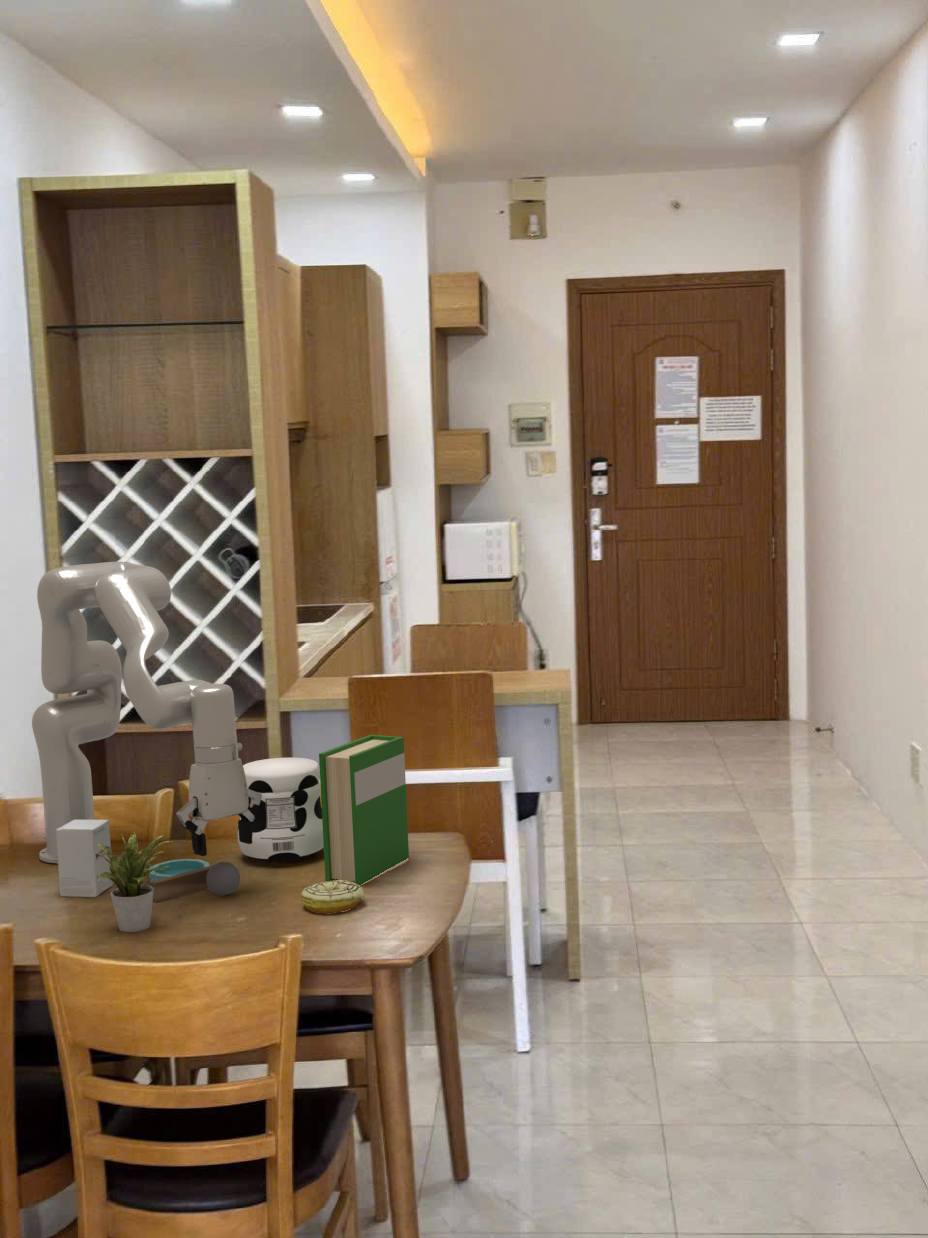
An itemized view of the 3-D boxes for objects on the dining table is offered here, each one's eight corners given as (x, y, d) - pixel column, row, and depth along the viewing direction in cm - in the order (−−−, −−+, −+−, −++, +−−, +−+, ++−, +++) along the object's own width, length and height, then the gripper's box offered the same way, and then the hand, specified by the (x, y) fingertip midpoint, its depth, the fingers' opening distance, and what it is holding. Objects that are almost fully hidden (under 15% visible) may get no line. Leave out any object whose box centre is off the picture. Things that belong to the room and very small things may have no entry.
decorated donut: (376, 904, 252) (375, 883, 251) (330, 921, 244) (329, 899, 243) (336, 893, 259) (335, 873, 258) (290, 909, 251) (289, 888, 250)
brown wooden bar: (151, 901, 258) (150, 882, 257) (222, 881, 268) (221, 863, 267) (156, 903, 257) (155, 883, 256) (227, 883, 267) (226, 864, 266)
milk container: (290, 839, 295) (285, 752, 293) (346, 853, 283) (341, 763, 281) (220, 858, 283) (215, 768, 281) (276, 874, 271) (271, 780, 269)
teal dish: (138, 881, 270) (137, 869, 270) (189, 867, 278) (188, 855, 277) (170, 892, 262) (169, 880, 262) (221, 878, 270) (220, 866, 270)
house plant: (195, 930, 241) (189, 834, 239) (115, 948, 234) (108, 849, 232) (164, 909, 253) (158, 817, 251) (86, 925, 245) (79, 831, 244)
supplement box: (97, 898, 261) (92, 829, 259) (59, 897, 262) (54, 829, 261) (114, 885, 268) (110, 818, 267) (77, 884, 270) (73, 818, 268)
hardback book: (360, 887, 261) (353, 756, 258) (325, 882, 265) (318, 753, 262) (409, 860, 277) (403, 737, 274) (376, 856, 280) (370, 734, 277)
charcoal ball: (200, 895, 260) (198, 863, 259) (228, 888, 264) (226, 855, 263) (219, 902, 255) (217, 869, 255) (247, 894, 259) (245, 861, 259)
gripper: (244, 743, 265) (251, 835, 267) (162, 760, 253) (170, 856, 255) (268, 748, 260) (275, 841, 261) (186, 765, 248) (193, 863, 250)
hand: (223, 848), depth 258 cm, fingers open, 9 cm apart
